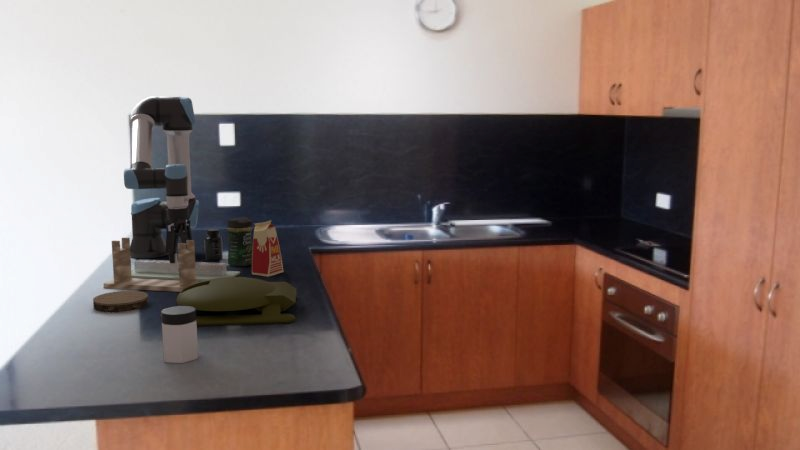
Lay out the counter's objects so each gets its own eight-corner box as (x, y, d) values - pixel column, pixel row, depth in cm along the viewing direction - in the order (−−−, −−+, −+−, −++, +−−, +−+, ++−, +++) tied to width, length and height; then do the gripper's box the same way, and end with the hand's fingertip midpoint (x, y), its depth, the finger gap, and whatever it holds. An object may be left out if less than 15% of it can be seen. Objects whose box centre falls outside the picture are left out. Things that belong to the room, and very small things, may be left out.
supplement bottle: (225, 257, 300) (224, 228, 298) (219, 261, 293) (218, 231, 291) (208, 257, 300) (207, 228, 299) (202, 260, 294) (201, 231, 292)
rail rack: (103, 287, 249) (100, 241, 246) (118, 281, 258) (116, 236, 255) (194, 292, 243) (192, 244, 240) (206, 286, 251) (204, 240, 249)
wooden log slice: (90, 315, 217) (89, 305, 216) (96, 301, 232) (96, 292, 231) (147, 311, 221) (146, 301, 221) (150, 298, 236) (149, 289, 236)
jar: (186, 349, 185) (184, 303, 183) (206, 356, 180) (204, 309, 178) (154, 358, 178) (152, 310, 176) (174, 366, 173) (171, 317, 171)
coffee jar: (239, 268, 280) (238, 220, 277) (224, 265, 284) (223, 218, 281) (257, 263, 288) (255, 216, 285) (242, 261, 292) (240, 215, 289)
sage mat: (119, 277, 264) (119, 274, 264) (140, 268, 278) (140, 266, 278) (224, 282, 257) (223, 280, 257) (240, 273, 271) (240, 271, 270)
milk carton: (283, 271, 274) (282, 218, 271) (269, 276, 266) (267, 222, 263) (263, 269, 278) (261, 217, 275) (248, 274, 270) (246, 220, 266)
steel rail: (135, 272, 269) (134, 261, 268) (140, 270, 273) (140, 259, 272) (222, 276, 262) (221, 265, 262) (226, 274, 266) (226, 263, 266)
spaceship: (297, 297, 238) (296, 268, 237) (295, 325, 208) (294, 291, 206) (186, 300, 234) (185, 270, 233) (167, 329, 204) (166, 294, 202)
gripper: (172, 211, 252) (175, 275, 256) (201, 203, 273) (203, 263, 277) (152, 211, 254) (155, 274, 257) (182, 203, 275) (184, 262, 278)
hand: (180, 268), depth 267 cm, fingers open, 9 cm apart
